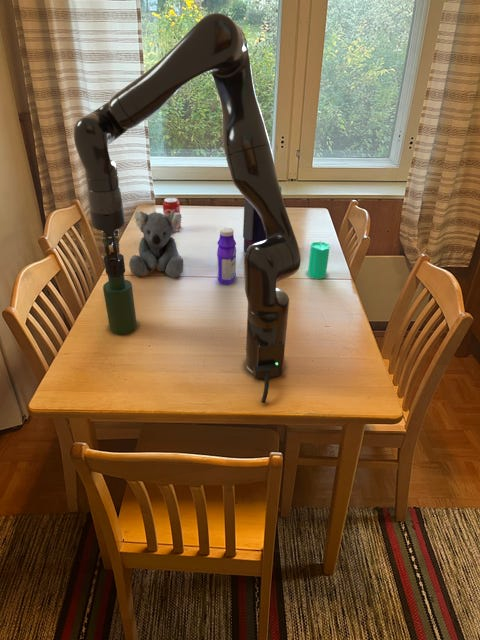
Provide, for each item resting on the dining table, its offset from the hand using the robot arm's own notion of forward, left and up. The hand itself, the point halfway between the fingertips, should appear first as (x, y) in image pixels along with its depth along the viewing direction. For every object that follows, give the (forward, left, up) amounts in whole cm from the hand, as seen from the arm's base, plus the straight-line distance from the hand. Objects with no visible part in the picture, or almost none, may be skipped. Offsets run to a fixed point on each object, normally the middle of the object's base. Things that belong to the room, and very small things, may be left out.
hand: (115, 271), depth 119 cm
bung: (0, 0, -2) cm, 2 cm away
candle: (+18, -63, -17) cm, 68 cm away
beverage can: (+64, -21, -17) cm, 69 cm away
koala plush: (+34, -13, -17) cm, 40 cm away
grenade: (+36, -48, -17) cm, 62 cm away
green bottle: (0, 0, -17) cm, 17 cm away
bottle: (+20, -33, -17) cm, 42 cm away
